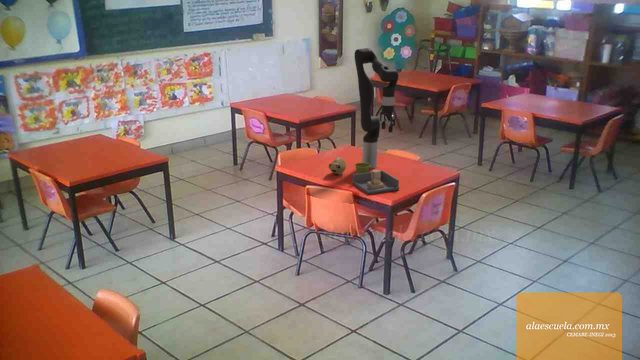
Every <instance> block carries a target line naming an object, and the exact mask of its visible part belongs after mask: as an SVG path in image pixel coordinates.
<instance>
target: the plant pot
mask: <svg viewBox="0 0 640 360" xmlns="http://www.w3.org/2000/svg"><path fill="white" fill-rule="evenodd" d="M354 166H355V169H356V174H360V173H367V172H370V171H369V170H370V169H369V167H370V164H368V163H362V162H357V163H355V164H354Z"/></svg>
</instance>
